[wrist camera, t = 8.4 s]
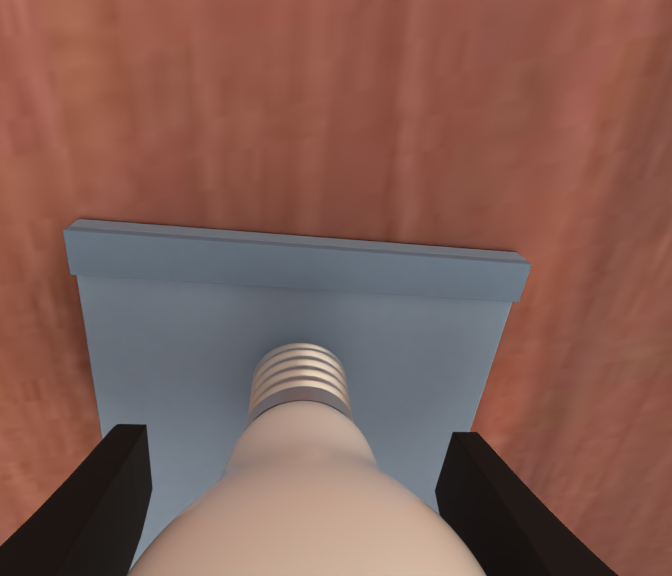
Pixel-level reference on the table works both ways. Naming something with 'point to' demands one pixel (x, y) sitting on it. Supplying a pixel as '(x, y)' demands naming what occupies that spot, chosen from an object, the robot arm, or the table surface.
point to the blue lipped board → (283, 340)
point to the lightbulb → (305, 493)
